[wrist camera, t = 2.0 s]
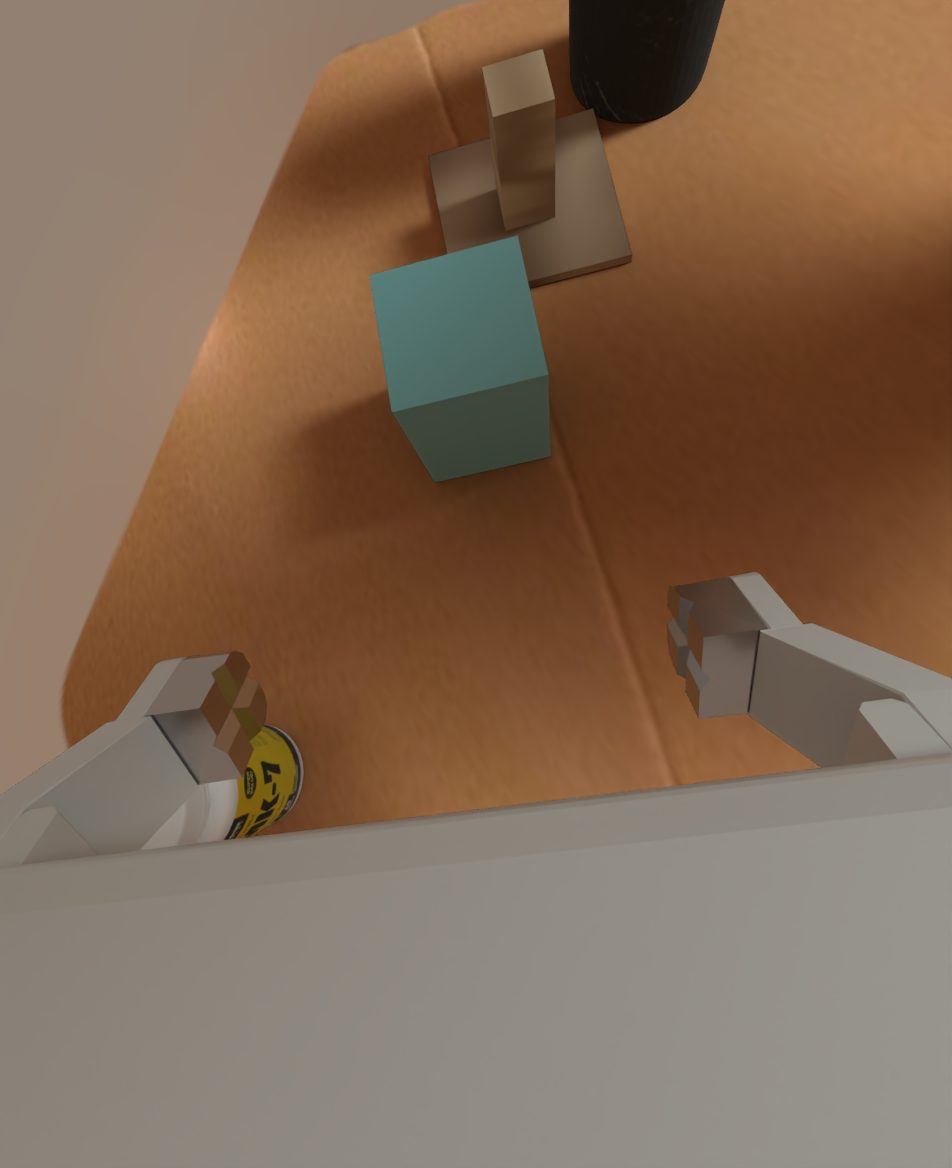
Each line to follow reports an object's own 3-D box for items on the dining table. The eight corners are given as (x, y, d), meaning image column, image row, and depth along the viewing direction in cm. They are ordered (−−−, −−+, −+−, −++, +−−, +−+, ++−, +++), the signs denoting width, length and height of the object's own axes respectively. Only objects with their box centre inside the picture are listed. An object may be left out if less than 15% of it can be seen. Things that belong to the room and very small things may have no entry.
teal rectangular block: (527, 350, 28) (517, 235, 21) (550, 456, 27) (548, 374, 20) (416, 377, 29) (369, 275, 22) (434, 482, 28) (391, 412, 20)
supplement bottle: (285, 842, 26) (160, 918, 18) (199, 805, 27) (40, 862, 18) (321, 740, 26) (215, 769, 18) (235, 708, 27) (96, 721, 19)
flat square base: (592, 117, 30) (602, -34, 24) (630, 261, 28) (652, 141, 22) (429, 163, 31) (397, 30, 25) (457, 306, 29) (430, 202, 23)
